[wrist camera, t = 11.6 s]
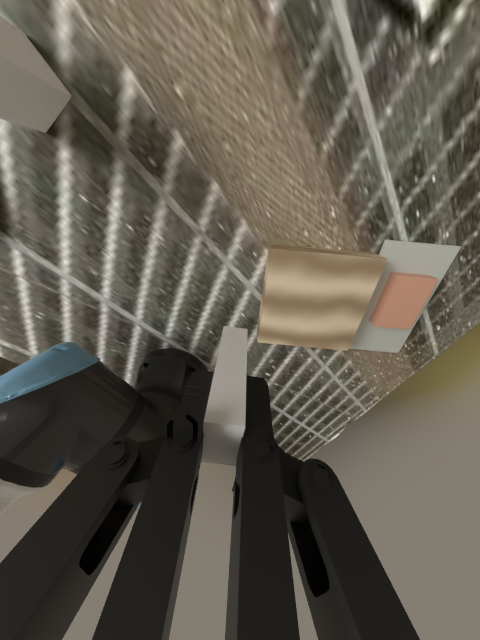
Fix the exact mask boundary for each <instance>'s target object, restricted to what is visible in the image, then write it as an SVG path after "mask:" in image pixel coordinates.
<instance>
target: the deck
mask: <svg viewBox="0 0 480 640" xmlns="http://www.w3.org/2000/svg"><path fill="white" fill-rule="evenodd" d="M387 260H388V259H387V258H384V257H382V256H380V255H377V254H375V253H371V252H360V251H349V250H338V249H327V248H316V247H305V246H294V245H283V244H272V243H269V250H268V257H267V264H266V271H265V278H264V285H263V292H262V299H261V306H260V313H259V320H258V327H257V340H258V342H260V343H271V344H281V345H292V346H303V347H313V348H324V349H335V350H345V351H348V350H349V348H350V345H351V343H352V341H353V338H354V336H355V334H356V331H357V329H358V327H359V324H360V322H361V320H362V317H363V315H364V313H365V311H366V308H367V306H368V304H369V301H370V299H371V297H372V294H373V292H374V290H375V287H376V285H377V283H378V280H379V278H380V276H381V273H382V271H383V269H384V267H385V264H386V262H387Z"/></svg>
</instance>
